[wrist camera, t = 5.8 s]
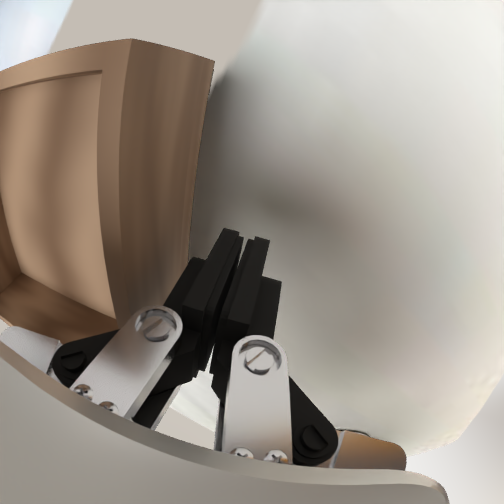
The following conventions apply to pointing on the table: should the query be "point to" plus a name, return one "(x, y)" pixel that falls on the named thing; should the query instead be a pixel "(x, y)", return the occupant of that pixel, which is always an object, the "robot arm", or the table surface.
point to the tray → (97, 183)
